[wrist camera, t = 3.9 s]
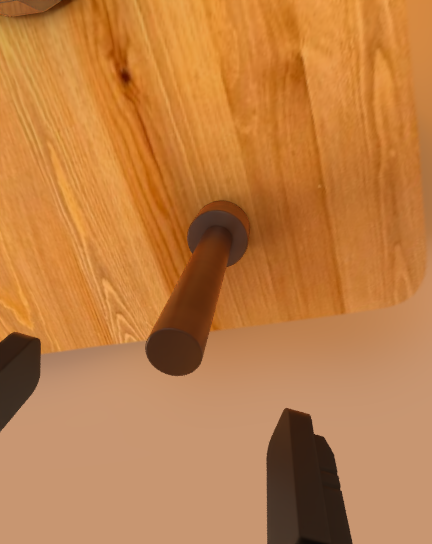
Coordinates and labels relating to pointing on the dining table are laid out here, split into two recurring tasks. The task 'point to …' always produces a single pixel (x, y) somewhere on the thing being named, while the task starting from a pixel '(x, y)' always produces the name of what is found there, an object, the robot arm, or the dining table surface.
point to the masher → (198, 289)
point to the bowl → (25, 6)
